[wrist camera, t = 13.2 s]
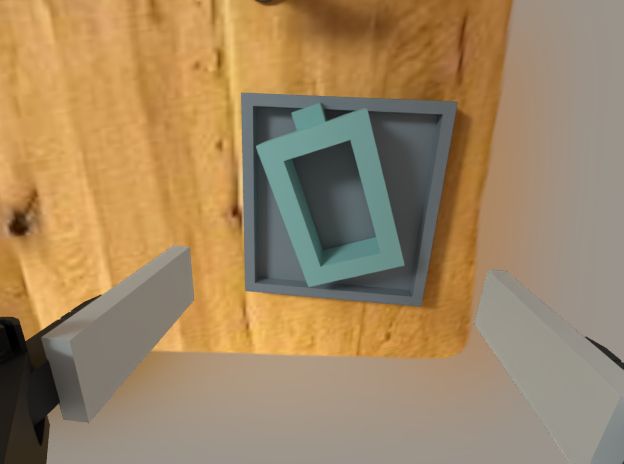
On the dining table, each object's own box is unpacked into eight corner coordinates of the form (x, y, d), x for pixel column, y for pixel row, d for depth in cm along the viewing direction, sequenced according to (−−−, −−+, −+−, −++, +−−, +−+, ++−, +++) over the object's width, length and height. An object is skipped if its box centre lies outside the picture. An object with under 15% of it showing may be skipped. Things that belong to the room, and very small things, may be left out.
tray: (247, 95, 28) (241, 92, 27) (449, 103, 27) (457, 101, 25) (250, 282, 34) (245, 290, 32) (416, 296, 33) (421, 306, 31)
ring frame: (259, 124, 27) (248, 127, 24) (359, 89, 25) (362, 87, 22) (312, 268, 32) (308, 287, 29) (398, 248, 31) (404, 265, 27)
